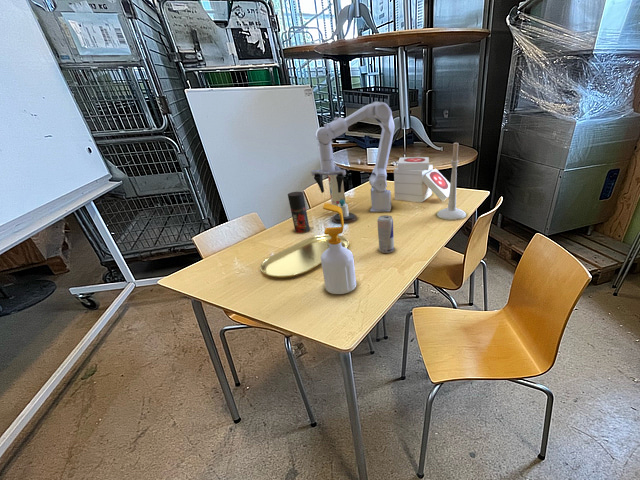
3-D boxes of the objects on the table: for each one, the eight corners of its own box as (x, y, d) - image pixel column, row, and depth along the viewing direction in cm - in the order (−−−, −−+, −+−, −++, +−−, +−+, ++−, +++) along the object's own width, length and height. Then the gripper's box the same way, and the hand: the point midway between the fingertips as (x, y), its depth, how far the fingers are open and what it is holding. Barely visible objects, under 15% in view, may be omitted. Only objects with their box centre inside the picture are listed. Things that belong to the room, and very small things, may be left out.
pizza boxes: (445, 206, 160) (447, 166, 151) (389, 199, 171) (387, 162, 161) (456, 195, 175) (459, 158, 165) (404, 190, 186) (404, 155, 176)
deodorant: (311, 227, 141) (305, 191, 132) (307, 233, 136) (300, 195, 127) (298, 227, 141) (290, 191, 133) (292, 232, 136) (285, 195, 128)
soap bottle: (327, 280, 103) (314, 200, 89) (356, 278, 103) (348, 198, 90) (324, 295, 95) (309, 211, 82) (356, 293, 96) (346, 209, 82)
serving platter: (360, 244, 125) (359, 240, 124) (289, 285, 100) (288, 281, 99) (322, 235, 133) (322, 231, 133) (248, 271, 109) (247, 267, 108)
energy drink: (396, 248, 121) (395, 215, 115) (391, 254, 117) (389, 221, 111) (382, 246, 123) (380, 214, 116) (376, 252, 119) (374, 219, 112)
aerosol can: (332, 203, 168) (326, 161, 157) (346, 203, 168) (341, 160, 158) (331, 207, 162) (325, 164, 152) (345, 207, 163) (340, 163, 152)
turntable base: (358, 215, 152) (358, 212, 152) (354, 223, 143) (354, 221, 143) (335, 215, 153) (334, 212, 153) (329, 223, 144) (329, 221, 143)
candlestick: (463, 210, 155) (469, 139, 138) (467, 219, 144) (474, 144, 128) (436, 210, 155) (438, 139, 139) (438, 220, 145) (441, 144, 128)
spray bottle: (336, 213, 152) (334, 196, 148) (356, 213, 151) (354, 196, 147) (331, 220, 144) (329, 203, 140) (352, 220, 144) (350, 203, 139)
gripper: (307, 161, 138) (312, 194, 145) (341, 161, 137) (345, 194, 144) (312, 158, 144) (317, 190, 151) (345, 157, 143) (348, 190, 150)
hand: (331, 192), depth 148 cm, fingers open, 7 cm apart
